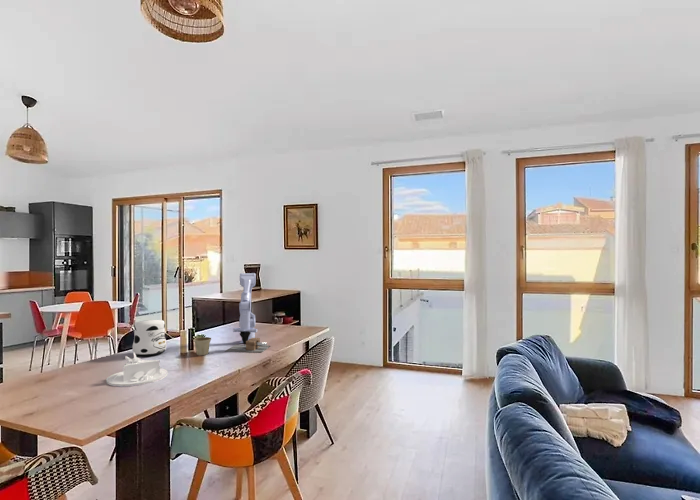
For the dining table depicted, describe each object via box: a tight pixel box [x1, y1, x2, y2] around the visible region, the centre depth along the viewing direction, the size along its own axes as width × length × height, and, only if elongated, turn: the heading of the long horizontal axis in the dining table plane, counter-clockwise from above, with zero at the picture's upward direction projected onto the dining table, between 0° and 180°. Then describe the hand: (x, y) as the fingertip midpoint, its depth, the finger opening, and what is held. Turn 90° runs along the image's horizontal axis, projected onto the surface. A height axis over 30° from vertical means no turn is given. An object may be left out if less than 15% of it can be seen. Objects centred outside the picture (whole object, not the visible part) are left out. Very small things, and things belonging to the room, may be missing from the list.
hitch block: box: [224, 337, 271, 354], centre depth 242 cm, size 16×22×6 cm
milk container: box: [132, 319, 168, 357], centre depth 230 cm, size 17×17×18 cm
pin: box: [256, 341, 268, 346], centre depth 241 cm, size 4×12×4 cm, turn 83°
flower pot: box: [193, 336, 212, 356], centre depth 230 cm, size 9×9×9 cm
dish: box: [106, 351, 169, 388], centre depth 187 cm, size 25×25×11 cm
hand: (245, 344), depth 242 cm, fingers closed
